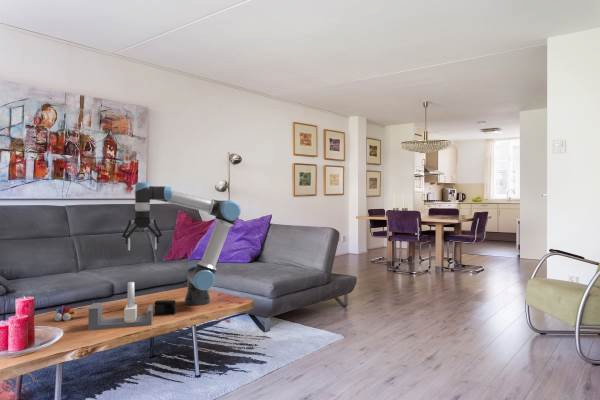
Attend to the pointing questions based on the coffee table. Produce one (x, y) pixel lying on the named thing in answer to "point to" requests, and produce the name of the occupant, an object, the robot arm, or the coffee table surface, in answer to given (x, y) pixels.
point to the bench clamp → (115, 319)
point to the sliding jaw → (130, 305)
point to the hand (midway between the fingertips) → (142, 249)
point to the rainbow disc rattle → (64, 314)
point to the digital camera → (165, 307)
